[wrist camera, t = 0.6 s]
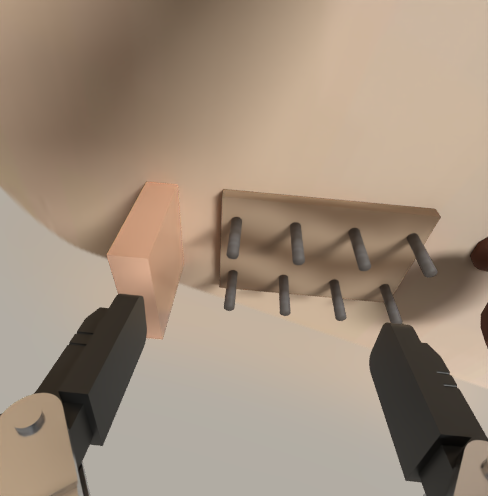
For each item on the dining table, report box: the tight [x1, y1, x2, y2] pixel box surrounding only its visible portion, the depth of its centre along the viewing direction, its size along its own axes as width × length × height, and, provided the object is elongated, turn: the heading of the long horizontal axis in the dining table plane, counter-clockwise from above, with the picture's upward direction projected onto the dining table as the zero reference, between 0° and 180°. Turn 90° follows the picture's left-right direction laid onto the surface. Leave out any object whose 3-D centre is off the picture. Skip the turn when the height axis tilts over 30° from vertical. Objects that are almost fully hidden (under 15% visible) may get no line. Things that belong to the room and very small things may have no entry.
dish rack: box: [219, 189, 440, 324], centre depth 30 cm, size 12×19×6 cm, turn 86°
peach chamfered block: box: [107, 182, 184, 339], centre depth 28 cm, size 10×3×10 cm, turn 176°
